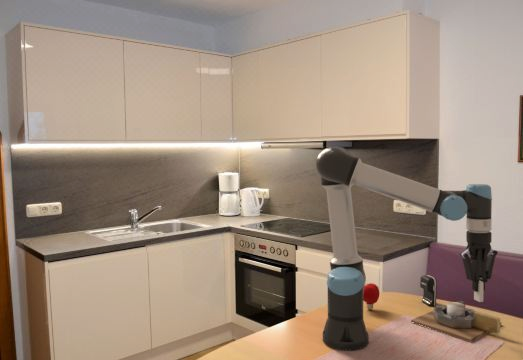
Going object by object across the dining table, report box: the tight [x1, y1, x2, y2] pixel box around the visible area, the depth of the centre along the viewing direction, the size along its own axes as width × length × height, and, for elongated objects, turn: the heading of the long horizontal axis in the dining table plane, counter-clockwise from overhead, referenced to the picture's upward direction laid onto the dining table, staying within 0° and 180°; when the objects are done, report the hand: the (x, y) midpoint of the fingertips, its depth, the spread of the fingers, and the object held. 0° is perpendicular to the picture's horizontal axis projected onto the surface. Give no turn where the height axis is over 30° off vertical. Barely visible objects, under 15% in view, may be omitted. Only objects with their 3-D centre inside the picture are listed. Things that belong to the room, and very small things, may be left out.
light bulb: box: [363, 283, 380, 311], centre depth 178 cm, size 9×7×10 cm
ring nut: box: [433, 304, 501, 335], centre depth 160 cm, size 22×14×5 cm, turn 38°
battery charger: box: [419, 274, 438, 307], centre depth 184 cm, size 7×4×11 cm, turn 12°
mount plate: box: [410, 300, 502, 343], centre depth 163 cm, size 22×22×7 cm
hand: (478, 300), depth 152 cm, fingers closed
